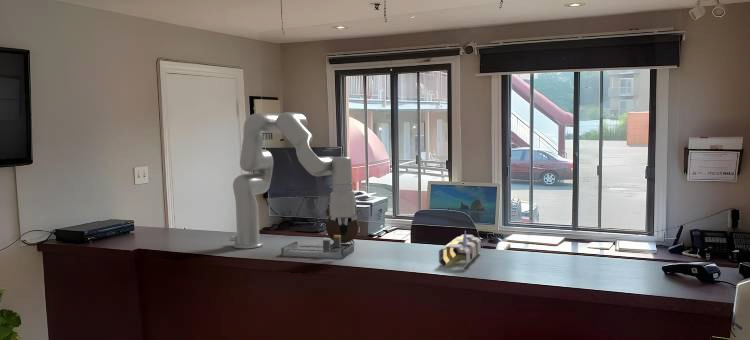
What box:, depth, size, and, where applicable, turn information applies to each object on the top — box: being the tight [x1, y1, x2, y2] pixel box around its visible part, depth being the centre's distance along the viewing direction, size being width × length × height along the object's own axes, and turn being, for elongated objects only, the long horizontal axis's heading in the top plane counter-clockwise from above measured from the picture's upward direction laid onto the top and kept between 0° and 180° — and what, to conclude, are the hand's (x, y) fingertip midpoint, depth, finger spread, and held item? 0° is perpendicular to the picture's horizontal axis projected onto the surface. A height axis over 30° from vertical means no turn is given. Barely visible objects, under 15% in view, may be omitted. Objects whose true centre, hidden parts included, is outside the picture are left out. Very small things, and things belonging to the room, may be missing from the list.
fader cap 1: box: [322, 237, 331, 251], centre depth 218 cm, size 2×2×5 cm
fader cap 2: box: [333, 235, 342, 247], centre depth 225 cm, size 2×2×5 cm
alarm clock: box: [325, 204, 360, 246], centre depth 241 cm, size 15×7×20 cm, turn 84°
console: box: [280, 241, 355, 260], centre depth 223 cm, size 26×14×3 cm, turn 75°
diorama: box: [438, 230, 482, 269], centre depth 207 cm, size 25×10×13 cm, turn 158°
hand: (344, 234), depth 216 cm, fingers closed
